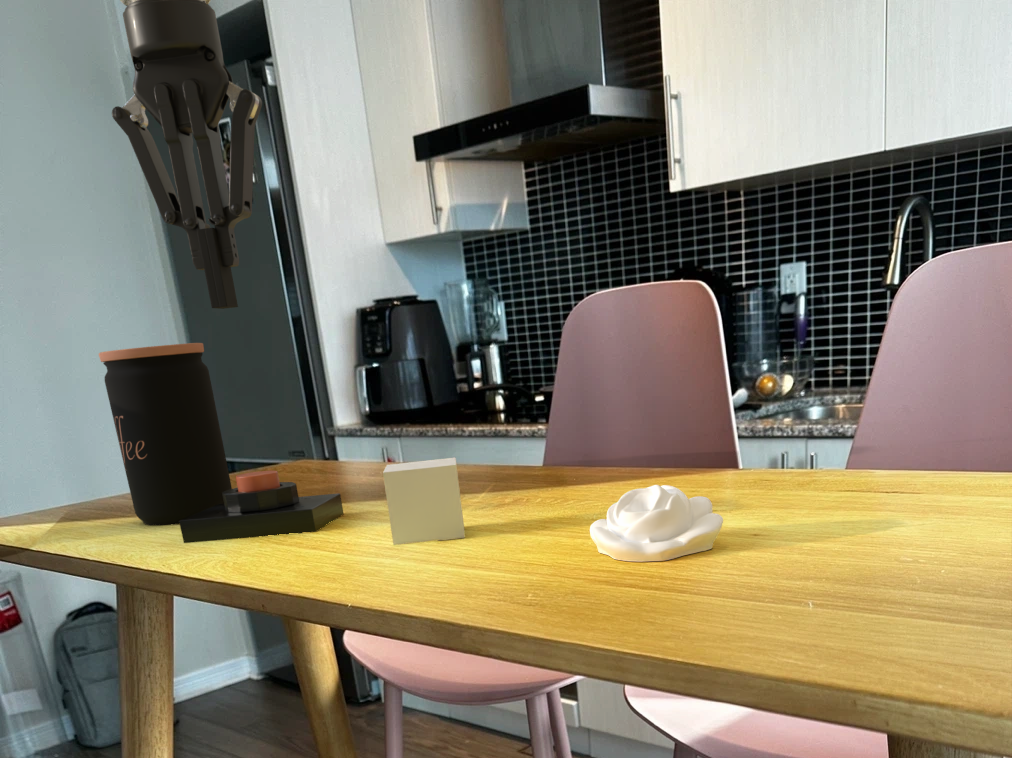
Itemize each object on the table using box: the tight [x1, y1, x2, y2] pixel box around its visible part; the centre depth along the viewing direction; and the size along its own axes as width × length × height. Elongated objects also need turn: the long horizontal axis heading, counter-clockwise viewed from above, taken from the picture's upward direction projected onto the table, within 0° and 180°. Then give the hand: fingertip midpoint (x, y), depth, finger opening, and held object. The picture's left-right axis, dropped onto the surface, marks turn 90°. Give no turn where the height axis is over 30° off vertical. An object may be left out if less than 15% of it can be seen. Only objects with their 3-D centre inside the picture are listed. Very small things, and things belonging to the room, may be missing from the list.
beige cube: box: [382, 457, 466, 546], centre depth 87 cm, size 6×6×6 cm
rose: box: [589, 484, 724, 563], centre depth 73 cm, size 10×4×10 cm
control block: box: [179, 481, 344, 544], centre depth 101 cm, size 13×10×4 cm
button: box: [235, 470, 280, 492], centre depth 100 cm, size 4×4×2 cm
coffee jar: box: [98, 342, 233, 527], centre depth 112 cm, size 11×11×18 cm
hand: (225, 307), depth 94 cm, fingers closed
